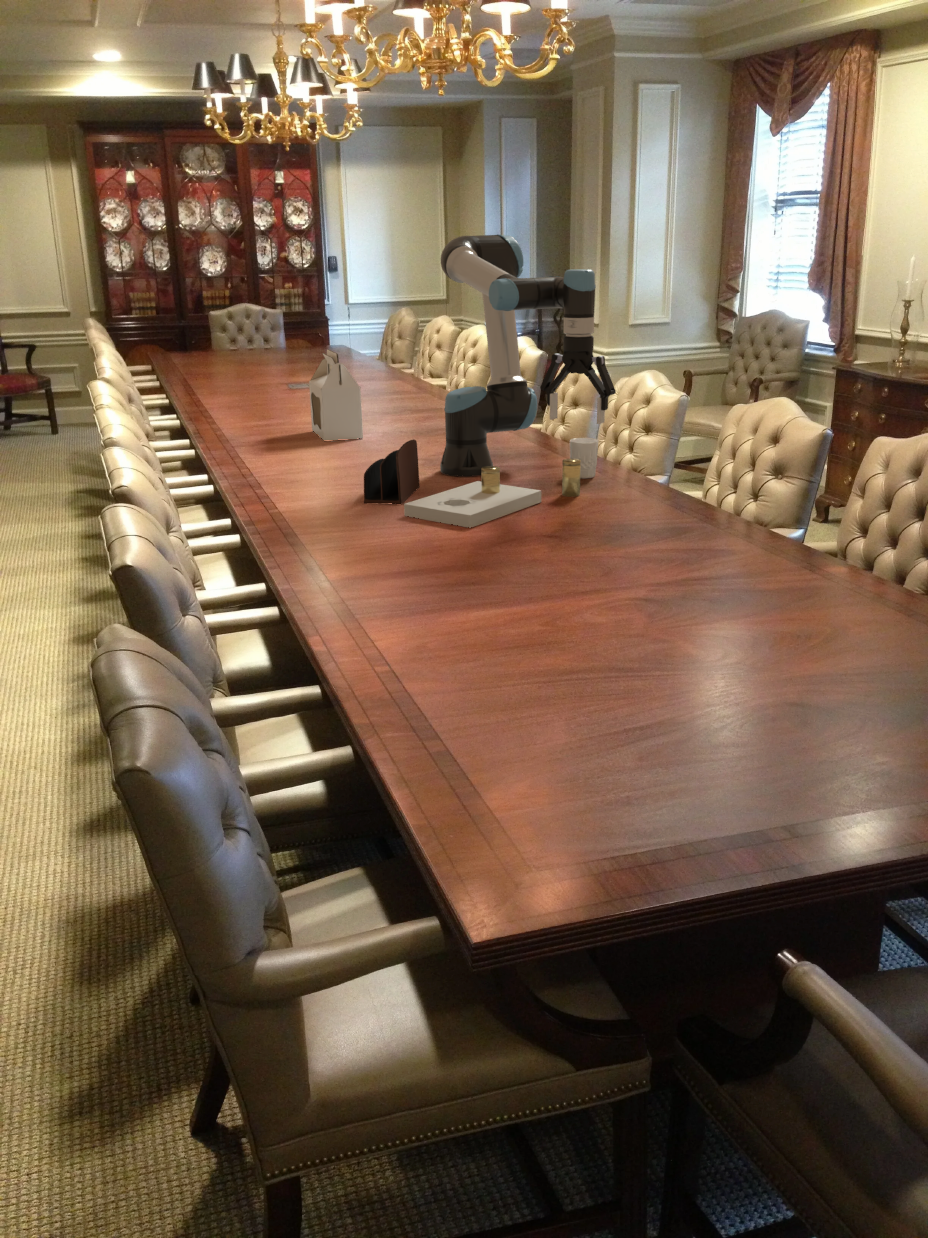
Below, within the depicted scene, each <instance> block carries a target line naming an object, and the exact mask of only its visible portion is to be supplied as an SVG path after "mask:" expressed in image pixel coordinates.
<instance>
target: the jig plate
mask: <svg viewBox="0 0 928 1238" xmlns="http://www.w3.org/2000/svg"><path fill="white" fill-rule="evenodd" d="M539 503H542V490H540V489H535V488H534V489H533V488H527V487H520V486H515V485H507V484H501V483H500V492H499V493H494V494H486V493H482V481H480V480H477V481H473V482H470V483H466V484H464V485H460V486H457V487H454V488H451V489H450V488H449V489H448V490H444V491H442V492H438V493H433V494H432V495H429V496H424V497H421V498H419V499H415V500H413V501H409V502H404V503H403V509H404V511H403V513H404V517H407V516H409V518H413V517H415V518H414V519H418V518H419V519H420V520H425V521H429V522H436V523H440V522H441V523H442V524H446V525H451V524H453V525H452V526H457V525H458V527H464V528H468V527H469V529H471V527H472V528H474V527H477V526H479V525H482V524H486V523H488V522H490V521H492V520H497V519H499V518H501V517H504V516H506V515H510V514H513V513H515V512H518V511H520V510H524V509H526V508H529V507H532V506H534V505H537V504H539ZM441 523H440V524H441Z"/></svg>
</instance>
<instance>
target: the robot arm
mask: <svg viewBox="0 0 928 1238" xmlns="http://www.w3.org/2000/svg"><path fill="white" fill-rule="evenodd" d="M522 251H523V250H522V248H521V246H520V244H519V242H518V241H517V240H516V239H515V237H513V236H511V235H501V234H485V235H462V236H458V237H456V238H453V239H451V240H450V241H449V242H448V243H446V245H445V246H444V247H443V249H442V252H441V255H440V266H441V269H442V271H443V273H444V274H445V276H446V277H447V278H448V279H450V280H452V281H453V282H455V283H459V284H463V283H464V284H466V285H468V286H470V287H472V288H473V289H475V290H476V291H478V292H479V293H481V295H482V300H483V301H482V303H483V312H484V320H485V322H484V324H485V331H486V332H485V333H486V340H487V342H486V343H487V350H488V351H487V352H488V359H489V369H490V380H489V381H488V383H487V384H486V387H485V386H481V385H480V386H476V385H475V386H465V387H459V388H456V389H454V390H451V391H449V392H448V393H447V394H446V396H445V399H444V401H445V403H444V418H445V419H444V421H445V447H444V451H443V454H442V456H441V457H442V458H441V461H440V466H439V469H440V470H439V471H440V473H441V474H443V475H445V476H451V477H478V476H481V468H482V467H486V466H494V463H493V460H492V457H491V454H490V450H489V447H488V443H487V441H488V440H487V439H488V438H487V437H488V436H487V434H489V433H499V432H500V433H502V432H509V431H510V432H511V431H513V432H516V431H520V430H525V429H528V428H530V427H531V426H532V424H533V423H534V421H535V419H536V415H537V411H538V399H537V398H538V397H537V394H536V391H535V390H534V389H533V388H532V387H528V380H527V379H525V378H524V377H523V376H522V371H521V362H520V351H519V350H520V349H519V340H518V331H517V321H516V311H521V310H541V309H542V310H543V309H544V310H545V309H563V334H564V336H563V339H562V350H563V354H561V353H553V354H552V355H551V361H550V364H549V367H548V369H547V372H546V374H545V376H544V378H543V380H542V383H541V384H540V388H539V389H540V390H541V391H543V392H546V394H547V396H546V404H547V406H548V407H549V420H551V421H553V420H556V419H558V409H559V408H558V407H559V406H558V405H559V404H558V403H559V402H558V401H559V400H558V399H559V398H558V397H559V396H558V395H559V394H558V392H557V389H558V388H559V387H560V385H561V384H563V381H564V380H565V379H566V377H567V376H568V375H569V374H579V375H582V374H584V376H586V377H587V379H588V380H589V382H590V383H591V384H592V386H593V388H594V389H595V390H596V391H597V393H598V394H599V397H597V403H596V404H597V405H596V406H597V407H596V424H597V425H602V424H604V423H605V417H606V416H605V415H606V414H605V413H606V411H607V410H608V408H609V397H610V396H612V395H615V394H616V387H615V386H614V384H613V381H612V377H611V376H610V374H609V371H608V367H607V366H606V357H605V356H604V355H600V356H599V355H598V356H594V344H595V342H594V341H595V340H594V338H595V337H594V336H593V335H592V334H594V333H595V301H596V288H597V287H596V286H597V285H596V277H595V275H596V274H595V271H594V270H593V269H590V268H589V269H588V268H587V269H585V268H583V269H582V268H581V269H566V270H565V272H564V275H563V276H559V275H555V276H554V275H552V276H551V275H550V276H545V277H543V276H542V277H521V275H522V273H523V270H524V268H523V267H524V256H523V255H524V254H523V252H522ZM561 363H563V364H564V365H563V367H562V368H561V369H560V372H559V373H558V374H557V375H556V373H557V371H558V369H559V366H560V364H561ZM593 364H594V365H595V366H596V369H597V372H598V374H599V376H598V375H597V373H596V369H595V368H594V367H593ZM555 376H556V377H555Z"/></svg>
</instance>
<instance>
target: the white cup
mask: <svg viewBox="0 0 928 1238" xmlns="http://www.w3.org/2000/svg"><path fill="white" fill-rule="evenodd" d="M598 450H599V439H597V438H591V437H577V438H570V440H569V459H579V460H581V468H580V479H591V478H595V477H596V472H597V471H596V470H597V464H598V455H599V453H598Z"/></svg>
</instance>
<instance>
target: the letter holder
mask: <svg viewBox="0 0 928 1238" xmlns="http://www.w3.org/2000/svg"><path fill="white" fill-rule="evenodd" d="M417 442H418V441H417V440H416V439H414V438H413V439H410V440H408V441H406V442H404V443H403V444H402V446H400V448H399V449H396V450H393V451H391V452H390V453H388V454H387V455H386V456H385V458H379V459H377V460H375V461H374V462H373V463H372V464H371V465H369V466H368V468H366V470H365V471H364V473H363V502H364V504H367V503H392V504H391V505H397V504H401V505H403V504H404V503H405V501H406V500H408V498H410V496H412V495H413V494H414V493H415V492H416V491H417V490H418V489H419V488H420V485H421V483H420V471H419V470H420V468H419V455H418V454H419V453H418V443H417ZM416 489H417V490H416ZM414 491H415V492H414ZM413 492H414V493H413ZM411 494H412V495H411Z"/></svg>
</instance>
